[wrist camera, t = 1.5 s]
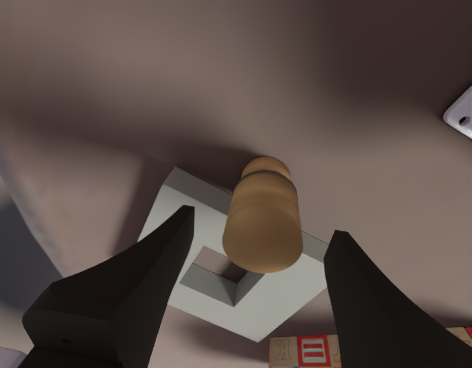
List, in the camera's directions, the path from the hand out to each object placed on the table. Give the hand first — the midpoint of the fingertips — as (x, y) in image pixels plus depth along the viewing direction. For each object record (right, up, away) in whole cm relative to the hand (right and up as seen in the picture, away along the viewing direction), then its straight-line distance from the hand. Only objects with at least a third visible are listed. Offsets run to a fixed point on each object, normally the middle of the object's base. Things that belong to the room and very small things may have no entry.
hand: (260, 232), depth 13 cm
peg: (+1, +3, +5) cm, 6 cm away
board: (-2, -4, +9) cm, 10 cm away
